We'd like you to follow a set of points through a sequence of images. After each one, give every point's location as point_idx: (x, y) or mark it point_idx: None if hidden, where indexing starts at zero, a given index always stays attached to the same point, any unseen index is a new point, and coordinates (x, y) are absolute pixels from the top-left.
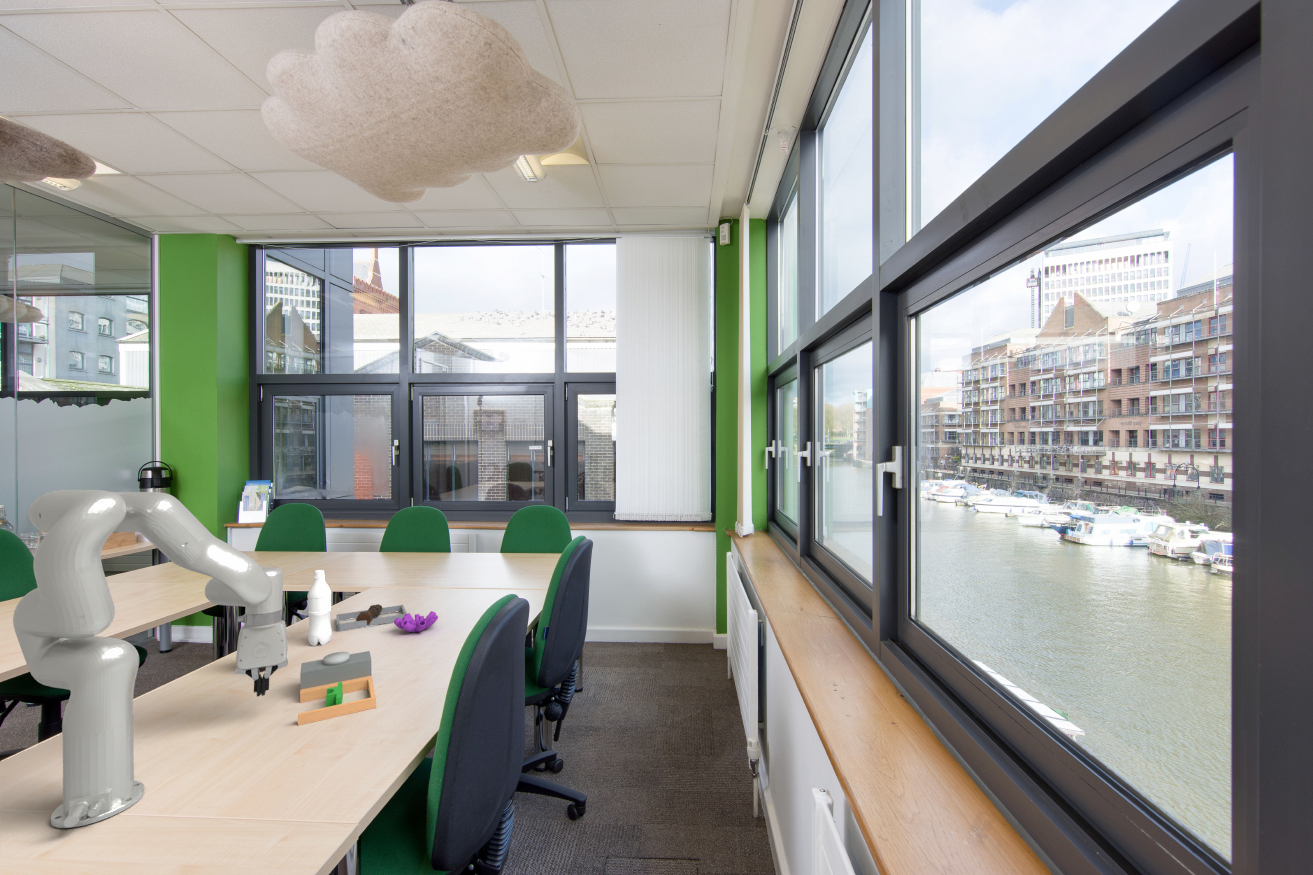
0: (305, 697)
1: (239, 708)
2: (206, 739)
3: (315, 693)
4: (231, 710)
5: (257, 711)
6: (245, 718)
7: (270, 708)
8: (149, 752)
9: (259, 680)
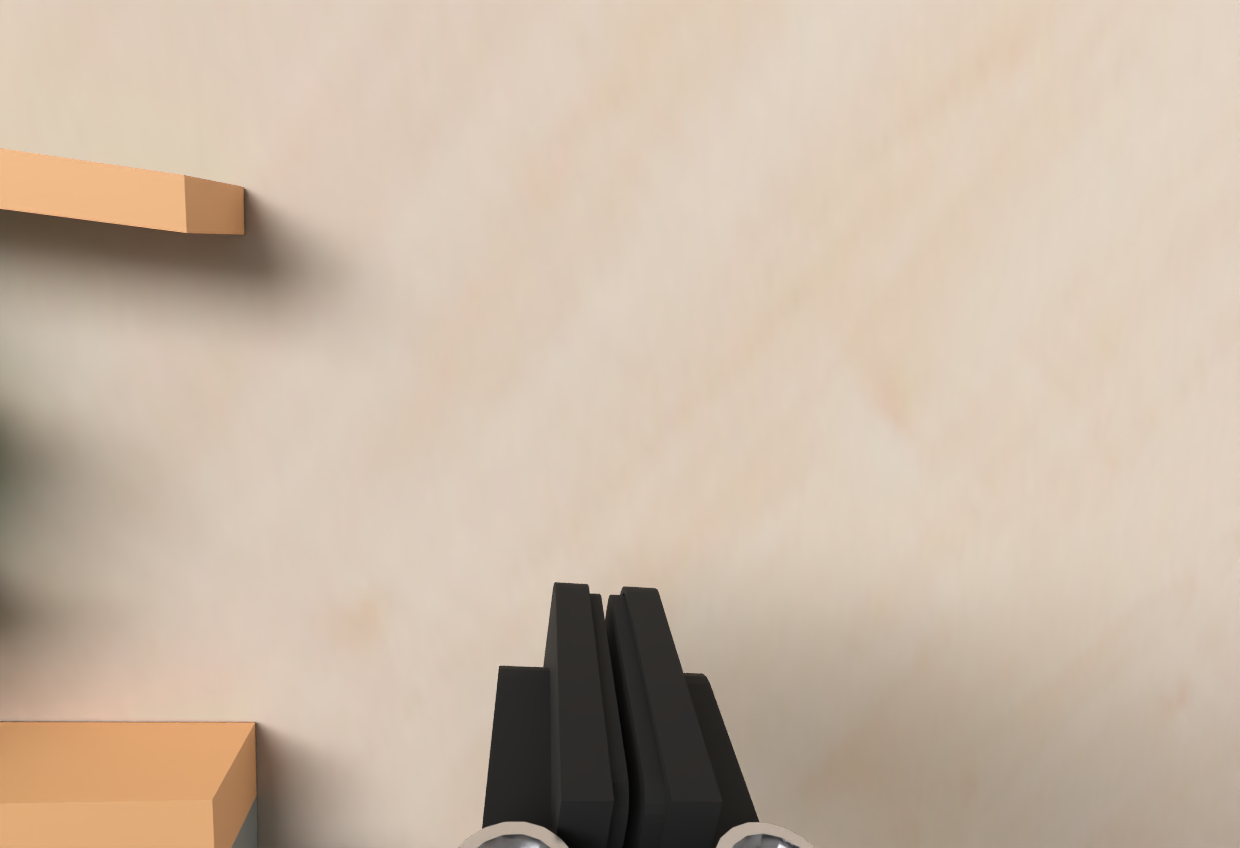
0: (188, 753)
1: None
2: (933, 422)
3: (72, 769)
4: None
5: None
6: None
7: None
8: (1217, 444)
9: (673, 790)
